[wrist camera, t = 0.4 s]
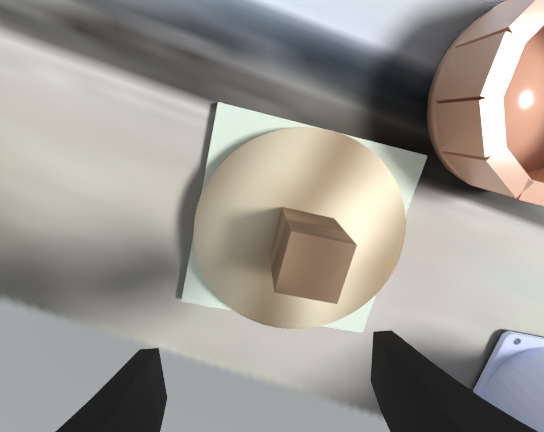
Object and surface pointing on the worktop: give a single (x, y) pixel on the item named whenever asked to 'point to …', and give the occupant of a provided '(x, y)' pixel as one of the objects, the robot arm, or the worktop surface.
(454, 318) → the worktop surface
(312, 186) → the lid
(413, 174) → the mat
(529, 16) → the bowl
